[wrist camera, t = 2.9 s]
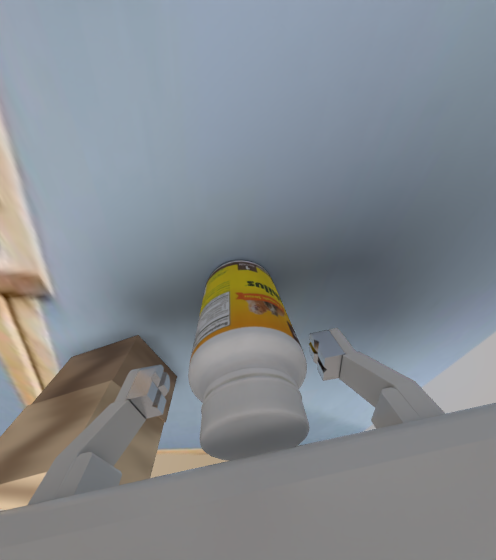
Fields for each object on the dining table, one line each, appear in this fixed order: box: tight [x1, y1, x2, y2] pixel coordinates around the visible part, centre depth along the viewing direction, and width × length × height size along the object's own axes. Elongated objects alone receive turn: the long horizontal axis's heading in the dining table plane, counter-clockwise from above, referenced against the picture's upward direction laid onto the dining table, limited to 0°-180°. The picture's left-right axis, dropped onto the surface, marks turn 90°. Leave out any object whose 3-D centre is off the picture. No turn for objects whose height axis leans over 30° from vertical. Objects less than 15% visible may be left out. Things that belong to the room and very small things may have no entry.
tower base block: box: [31, 335, 177, 422], centre depth 17 cm, size 7×7×4 cm
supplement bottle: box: [188, 261, 309, 461], centre depth 11 cm, size 6×6×10 cm
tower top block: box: [0, 380, 164, 510], centre depth 13 cm, size 7×7×4 cm
